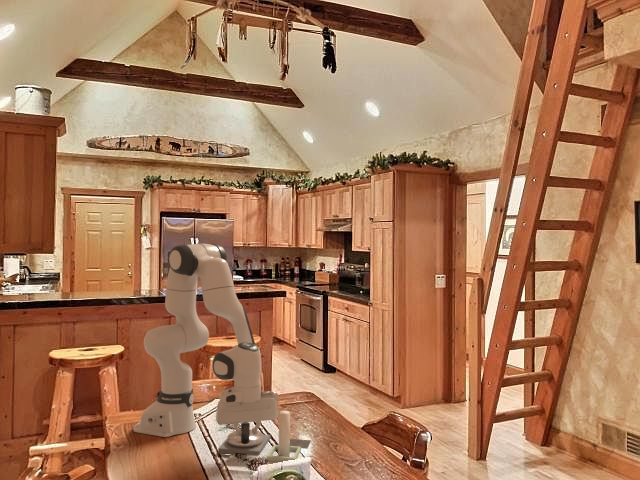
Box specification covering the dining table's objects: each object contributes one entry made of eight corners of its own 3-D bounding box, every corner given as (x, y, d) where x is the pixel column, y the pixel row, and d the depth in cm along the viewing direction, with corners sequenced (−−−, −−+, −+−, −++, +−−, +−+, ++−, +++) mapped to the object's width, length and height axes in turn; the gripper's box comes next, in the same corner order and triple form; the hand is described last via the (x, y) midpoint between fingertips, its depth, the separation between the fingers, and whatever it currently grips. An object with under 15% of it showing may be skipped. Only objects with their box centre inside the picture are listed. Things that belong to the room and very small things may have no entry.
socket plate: (287, 449, 167) (287, 446, 167) (291, 441, 174) (291, 438, 174) (307, 451, 166) (307, 448, 166) (311, 443, 172) (311, 440, 172)
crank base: (218, 454, 163) (218, 447, 163) (232, 438, 176) (232, 431, 176) (259, 457, 160) (259, 451, 160) (270, 440, 174) (270, 434, 174)
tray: (266, 463, 156) (266, 456, 156) (273, 451, 165) (274, 444, 165) (295, 465, 155) (295, 458, 155) (300, 453, 164) (300, 446, 164)
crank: (226, 449, 161) (226, 426, 161) (228, 434, 174) (228, 413, 174) (263, 447, 163) (263, 424, 163) (262, 433, 175) (262, 411, 175)
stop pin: (277, 457, 159) (277, 413, 159) (280, 453, 162) (280, 410, 162) (288, 458, 158) (288, 414, 158) (290, 453, 162) (291, 410, 162)
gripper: (276, 388, 170) (275, 428, 170) (215, 392, 164) (215, 434, 164) (280, 393, 164) (279, 435, 164) (217, 398, 158) (216, 441, 158)
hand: (246, 434), depth 164 cm, fingers open, 4 cm apart
